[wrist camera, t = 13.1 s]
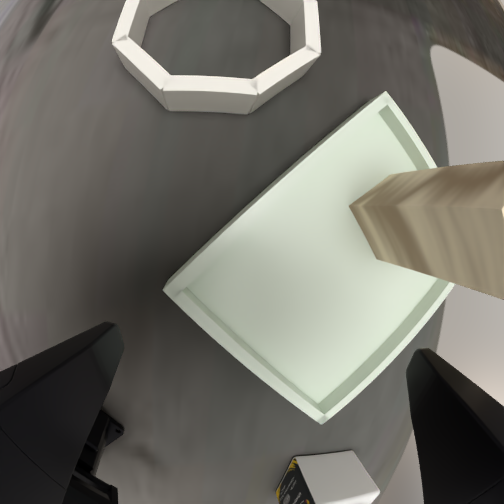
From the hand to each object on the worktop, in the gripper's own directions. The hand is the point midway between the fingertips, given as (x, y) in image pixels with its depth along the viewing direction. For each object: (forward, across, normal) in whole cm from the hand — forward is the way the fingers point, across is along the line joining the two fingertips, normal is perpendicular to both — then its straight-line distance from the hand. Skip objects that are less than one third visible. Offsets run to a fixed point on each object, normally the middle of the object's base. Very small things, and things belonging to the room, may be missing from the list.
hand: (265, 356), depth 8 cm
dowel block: (+14, -8, -1) cm, 16 cm away
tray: (+13, -5, +3) cm, 14 cm away
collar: (+15, +5, -14) cm, 21 cm away
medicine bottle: (+7, -6, +25) cm, 27 cm away
